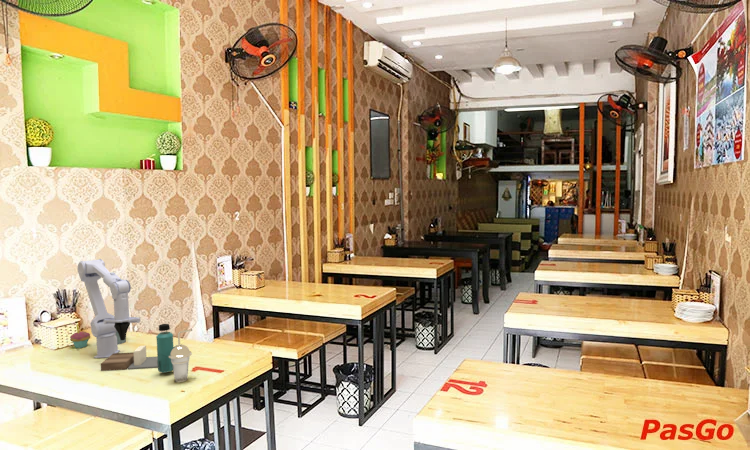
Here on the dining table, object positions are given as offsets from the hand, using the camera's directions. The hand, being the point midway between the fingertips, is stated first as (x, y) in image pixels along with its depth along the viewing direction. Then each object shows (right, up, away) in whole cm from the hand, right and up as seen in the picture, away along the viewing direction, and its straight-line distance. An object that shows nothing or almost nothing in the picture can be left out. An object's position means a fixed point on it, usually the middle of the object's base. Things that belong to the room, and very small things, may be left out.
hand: (123, 339), depth 227 cm
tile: (+9, -6, -4) cm, 11 cm away
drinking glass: (-17, -8, +30) cm, 35 cm away
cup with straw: (+34, -11, -25) cm, 44 cm away
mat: (+12, -9, -3) cm, 16 cm away
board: (+1, -10, -4) cm, 11 cm away
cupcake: (-32, -9, +24) cm, 41 cm away
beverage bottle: (+25, -10, -17) cm, 32 cm away
